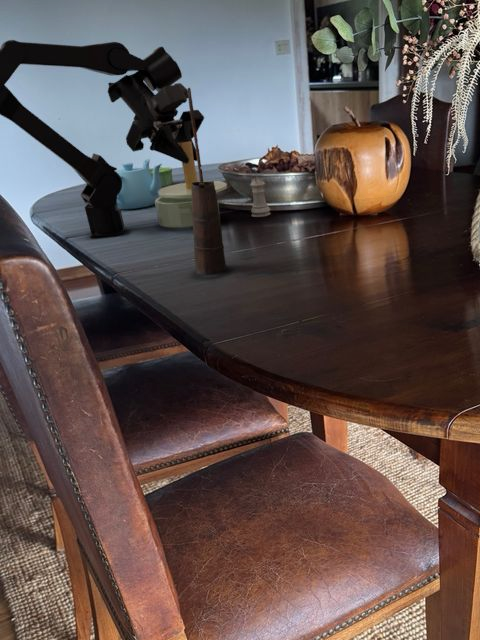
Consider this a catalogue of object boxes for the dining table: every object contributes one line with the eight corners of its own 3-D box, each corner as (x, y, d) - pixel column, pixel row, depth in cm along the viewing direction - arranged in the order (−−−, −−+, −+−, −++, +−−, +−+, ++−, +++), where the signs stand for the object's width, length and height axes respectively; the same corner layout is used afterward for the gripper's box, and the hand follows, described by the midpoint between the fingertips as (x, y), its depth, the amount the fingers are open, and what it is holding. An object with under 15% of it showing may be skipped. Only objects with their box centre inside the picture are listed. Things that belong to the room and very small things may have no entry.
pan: (155, 235, 137) (150, 208, 134) (163, 216, 153) (159, 192, 150) (219, 228, 138) (216, 202, 135) (220, 210, 154) (217, 186, 151)
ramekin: (143, 185, 195) (140, 169, 193) (173, 181, 197) (170, 165, 195) (145, 189, 187) (142, 173, 185) (176, 185, 189) (173, 169, 187)
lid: (155, 203, 131) (144, 149, 125) (162, 190, 143) (153, 140, 138) (226, 196, 131) (219, 142, 126) (228, 184, 144) (221, 134, 139)
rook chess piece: (268, 219, 143) (264, 181, 138) (248, 219, 143) (244, 181, 139) (273, 214, 146) (269, 177, 142) (254, 214, 147) (250, 178, 143)
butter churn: (232, 283, 104) (204, 88, 90) (176, 284, 106) (140, 93, 92) (246, 266, 112) (223, 84, 98) (194, 267, 114) (163, 89, 99)
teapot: (112, 214, 160) (102, 170, 154) (102, 204, 171) (92, 163, 166) (170, 205, 165) (162, 162, 159) (156, 196, 176) (148, 156, 171)
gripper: (122, 73, 121) (176, 137, 121) (189, 66, 134) (238, 124, 134) (104, 120, 129) (155, 180, 129) (169, 109, 142) (215, 163, 142)
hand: (192, 160), depth 133 cm, fingers closed on lid, 2 cm apart
